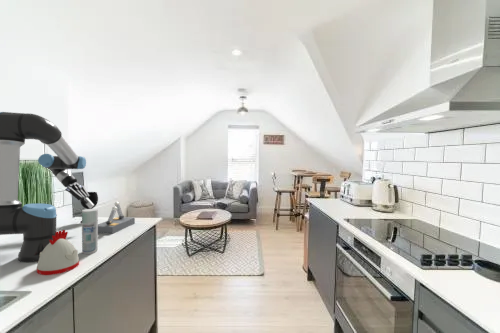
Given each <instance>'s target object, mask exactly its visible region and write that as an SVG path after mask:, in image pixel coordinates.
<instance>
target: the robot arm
mask: <svg viewBox="0 0 500 333" xmlns="http://www.w3.org/2000/svg"><path fill="white" fill-rule="evenodd" d="M26 140H37V141H39V142H41V143H42V144H44V145H47V146H48V147H49V149H51V151H52V152H53V153H54V154H55V155H52V154H50V153H44V154H41V155H39V157H38V159H37V161H38V162H37V163H38V164H39V165H40V166H41V165H42V166H43V167H42V166H41V167H42V168H44V167H45V169H46V168H48V169H50V170H51V171H52V172H51V171H50V172H51V173H52V174H53V175H54V176H55V178H56V179H57V180H58V181H59V182H60V183H61V185H62V186H64V187H65V189H64V190H65V191H66V192H68V194H71V196H73V197H74V198H75V199H76V200H78V201H79V202H80V201H83V202H84V203H85V204H86V205H87V206H88V207H89V208H92V207H93V206H94V204H93V203H92V202H91V200H90V199H89V198H88V197H89V194H88V192H89V191H87V189H86V188H85V185H84V184H82V185H81V184H80V183H78V179H77V178H76V177H75V176H74V175H73V173H72V172H71V171H70V170H83V169H85V168H86V166H87V160H86V157H85V156H80V155H79V156H78V155H77V153H76V152H75V151H74V150H73V149H72V147H71V146H70V145H69V143H68V142H67V141H66V140H65V139H64V138H63V134H62V131H61V130H60V129H59V127H58V126H57V125H56V124H54V123H53V122H52V121H50V120H49V119H47V118H45V117H43V116H41V115H39V114H35V113H24V112H22V113H21V112H20V113H19V112H9V111H0V236H2V235H6V236H7V235H21V234H22V236H23V239H22V241H23V242H22V244H21V245H20V246H21V247H20V249H19V250H20V251H19V252H18V255H17V259H18V261H19V262H23V263H29V262H30V263H31V262H32V263H33V262H38V261H39V258H40V252H42V251H43V250H44V248H45V247H46V246H47V245H48V244H49V243H50V241H49V240H52V241H53V237H52V236H55V234H56V232H57V216H58V214H57V209H56V207H55V205H52V204H49V203H41V202H40V203H39V202H38V203H26V204H23V202H21V201H20V200H19V198H18V196H19V177H20V176H19V175H20V155H21V147H22V146H24V145H25V142H26ZM48 169H47V170H48ZM92 209H93V208H92Z"/></svg>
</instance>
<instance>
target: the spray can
mask: <svg viewBox="0 0 500 333" xmlns="http://www.w3.org/2000/svg"><path fill="white" fill-rule="evenodd" d="M81 221H82V223H81V238H82V239H81V244H82V245H81V246H82V247H81V248H82V249H81V250H82V254H85V255H86V254H87V255H88V254H94V253H96V252H97V251H98V247H99V246H98V244H99V243H98V241H99V240H98V239H99V237H98V236H99V235H98V234H99V233H98V224H99V222H98V221H99V209H98V208H92V209H86V208H84V209H82V210H81Z"/></svg>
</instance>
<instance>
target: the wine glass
mask: <svg viewBox="0 0 500 333" xmlns="http://www.w3.org/2000/svg"><path fill="white" fill-rule="evenodd" d="M87 192H88V194H89V197H88V198H89V199H90V200H91V202H92V203H93V204H94V206H93V207H92V208H89V207H88V206H87V205H86V204H85V203H84V202H83V201H80V200H79V202H80V204H81V206H82V207H83V208H84V209H95V208H96V206H97V204H99V195H98V192H96V191H87ZM80 223H81V224H82V220H81V221H80Z"/></svg>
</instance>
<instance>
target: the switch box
mask: <svg viewBox="0 0 500 333" xmlns="http://www.w3.org/2000/svg"><path fill="white" fill-rule="evenodd" d="M135 219H136V218H135V217H128V216H127V217H126V216H124V218H122V219H119V216H116V217H114V218H113V220H112V223H111V224H109V225H107V224H106V222H107V221H108V220H106V221H103V222H101V223H98V234H108V235H109V234H110V235H111V234H115V233H117V232H119V231H122V230H124V229H126V228H128V227H130V226H132V225H135V224H136V223H135V221H136V220H135Z"/></svg>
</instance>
